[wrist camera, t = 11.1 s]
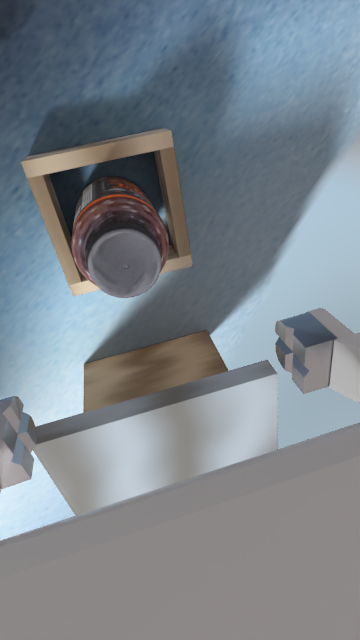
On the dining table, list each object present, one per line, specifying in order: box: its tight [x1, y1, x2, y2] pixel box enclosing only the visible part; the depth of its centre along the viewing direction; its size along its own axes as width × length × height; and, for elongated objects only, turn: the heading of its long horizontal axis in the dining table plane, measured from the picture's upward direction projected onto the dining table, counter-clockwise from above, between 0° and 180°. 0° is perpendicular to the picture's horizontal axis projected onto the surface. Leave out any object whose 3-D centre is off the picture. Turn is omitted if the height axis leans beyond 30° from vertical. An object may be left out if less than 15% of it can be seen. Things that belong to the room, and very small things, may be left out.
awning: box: [33, 330, 278, 516], centre depth 27 cm, size 13×9×16 cm
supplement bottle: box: [71, 176, 169, 298], centre depth 23 cm, size 6×6×11 cm
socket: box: [21, 128, 193, 296], centre depth 26 cm, size 10×10×3 cm
